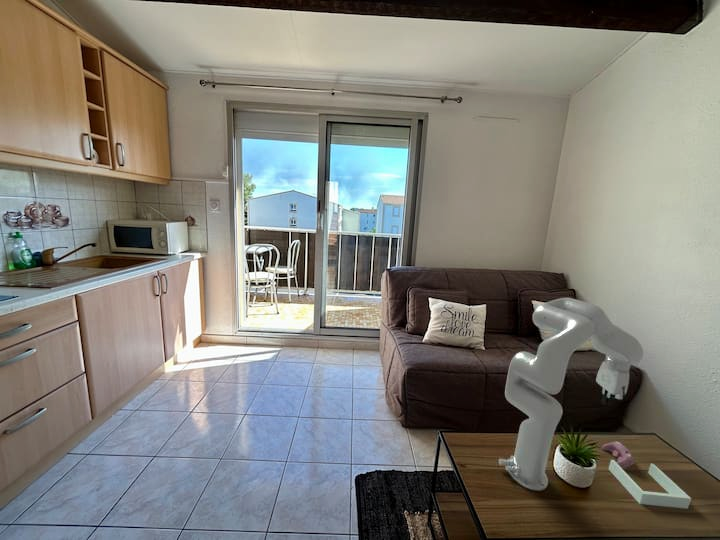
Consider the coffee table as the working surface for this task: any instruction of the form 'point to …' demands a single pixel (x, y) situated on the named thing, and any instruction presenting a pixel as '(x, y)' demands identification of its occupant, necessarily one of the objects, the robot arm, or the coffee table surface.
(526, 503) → the coffee table surface
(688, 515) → the coffee table surface
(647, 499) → the box
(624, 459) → the video game controller
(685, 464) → the coffee table surface
